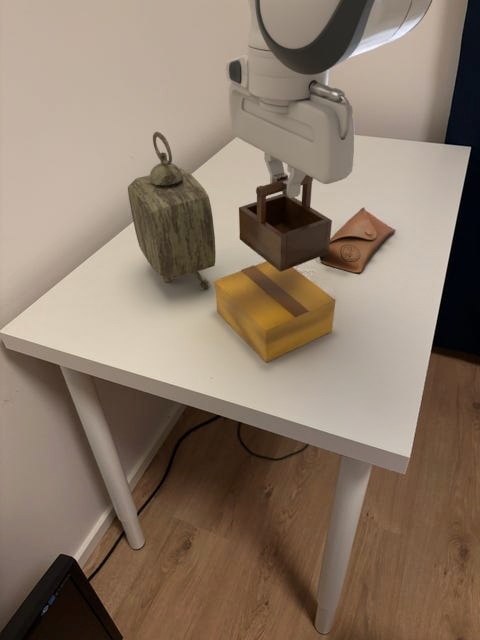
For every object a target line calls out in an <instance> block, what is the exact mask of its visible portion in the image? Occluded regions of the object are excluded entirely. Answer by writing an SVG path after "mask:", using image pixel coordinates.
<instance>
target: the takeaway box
mask: <svg viewBox="0 0 480 640" xmlns="http://www.w3.org/2000/svg"><path fill="white" fill-rule="evenodd" d="M214 291H215V302H216V304H215V305H216V312H217V313H218V314H219V315H220V316H221V317H222V318H223V319H224V320H225V321H226V322H227V324H229V325H230V327H232V328H233V330H234V331H235V332H236V333H237V334H238V336H240V337H241V338H242V339H243V340H244V341H245V342H246V343H247V344H248V345H249V346H250V348H252V350H254V352H255V353H256V354H258V356H259V357H260V358H261V360H263V361H264V362H265V363H268V362H271V361H272V360H274V359H276V358H279V357H281V356H283V355H285V354H286V353H289V352H291V351H294V350H295V349H297V348H300V347H301V346H305V345H307V344H308V343H310V342H312V341H314V340H316V339H318V338H321V337H322V336H325V335H327V334H329V333H331V332H333V326H334V325H333V324H334V319H335V318H334V316H335V310H336V309H335V307H336V299H335V298H334V297H333V296H332V295H330V294H329V293H328V292H326V291H325V290H324V289H322V288H321V287H320V286H319V285H317V284H316V283H315V282H313V281H312V280H310V279H309V278H308V277H307V276H305V275H304V274H302V273H301V272H300V271H298V270H297V269H296V268H295V267H292V268H290V269H287V270H284V271H282V272H280V271H279V270H277V269H276V268H275V267H274V266H272V265H271V264H270V263H269V262H267V261H266V260H265V261H263V262H261V263H258V264H253V265H250V266H248V267H245V268H242V269H240V270H239V271H237V272H234V273H231V274H229V275H226V276H223V277H221V278H218V279H215V280H214Z"/></svg>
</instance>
